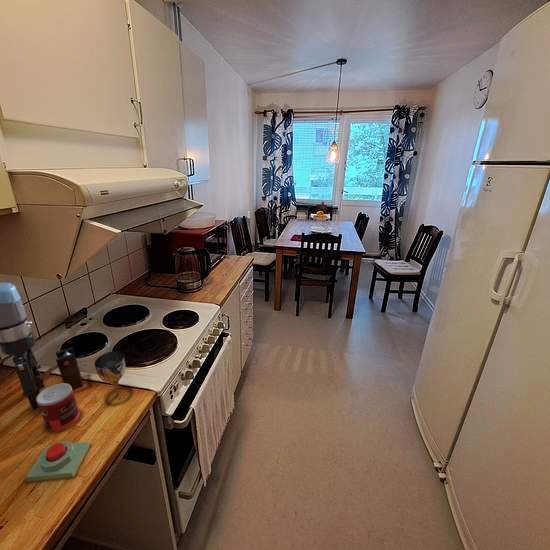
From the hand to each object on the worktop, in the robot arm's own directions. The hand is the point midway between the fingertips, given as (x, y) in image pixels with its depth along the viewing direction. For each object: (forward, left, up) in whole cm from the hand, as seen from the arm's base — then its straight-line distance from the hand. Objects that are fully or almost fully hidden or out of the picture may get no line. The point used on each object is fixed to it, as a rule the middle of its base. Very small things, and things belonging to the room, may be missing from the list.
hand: (39, 397), depth 89 cm
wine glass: (+24, -1, -2) cm, 24 cm away
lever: (+5, +3, +7) cm, 9 cm away
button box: (+18, -22, -1) cm, 29 cm away
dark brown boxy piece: (+8, +5, -1) cm, 9 cm away
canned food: (+12, -9, -2) cm, 15 cm away
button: (+18, -22, +2) cm, 29 cm away
